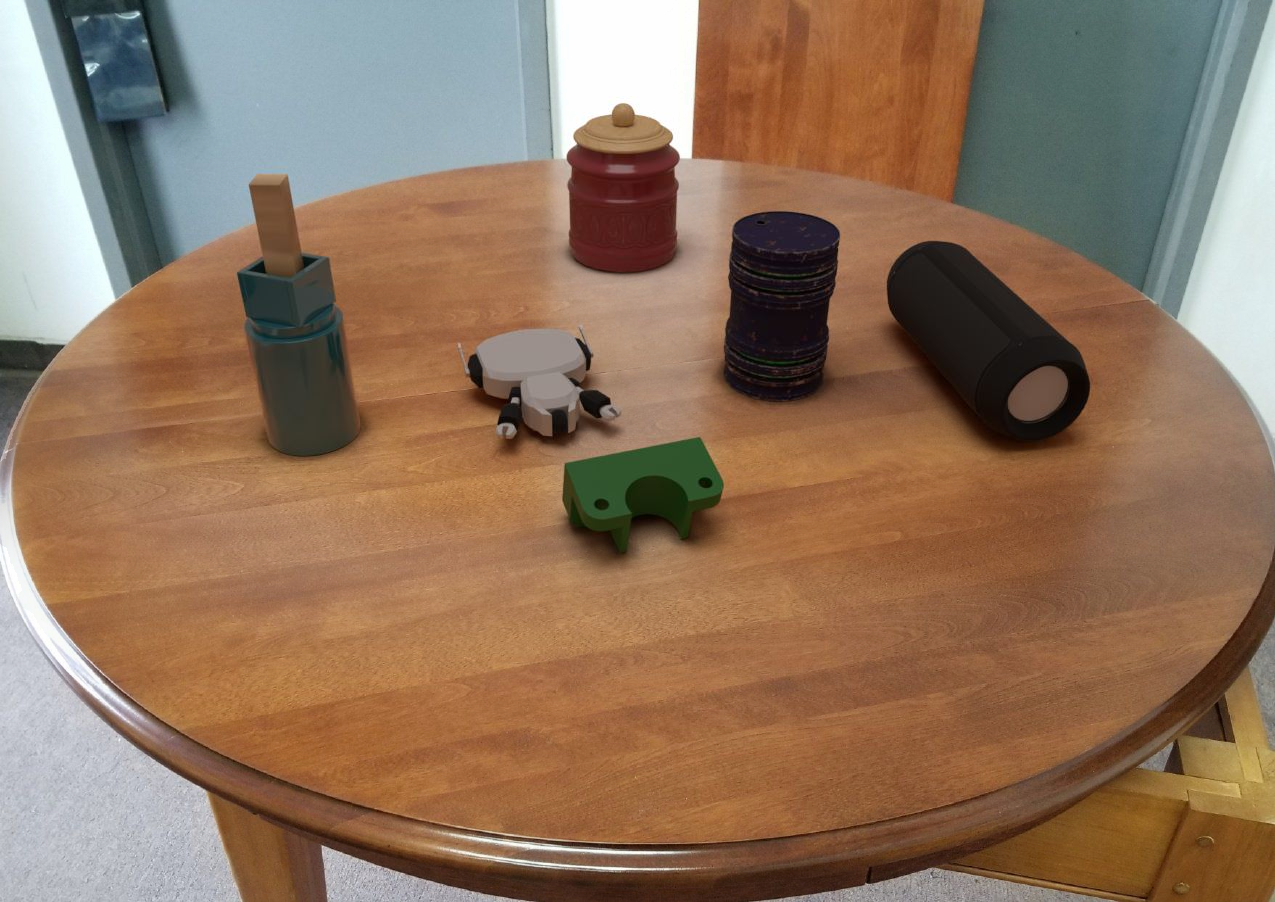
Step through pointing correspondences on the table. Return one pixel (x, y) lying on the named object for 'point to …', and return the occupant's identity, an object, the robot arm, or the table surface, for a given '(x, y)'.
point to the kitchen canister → (623, 192)
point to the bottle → (300, 357)
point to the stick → (276, 224)
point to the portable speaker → (987, 342)
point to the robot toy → (537, 380)
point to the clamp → (641, 487)
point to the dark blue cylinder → (779, 304)
